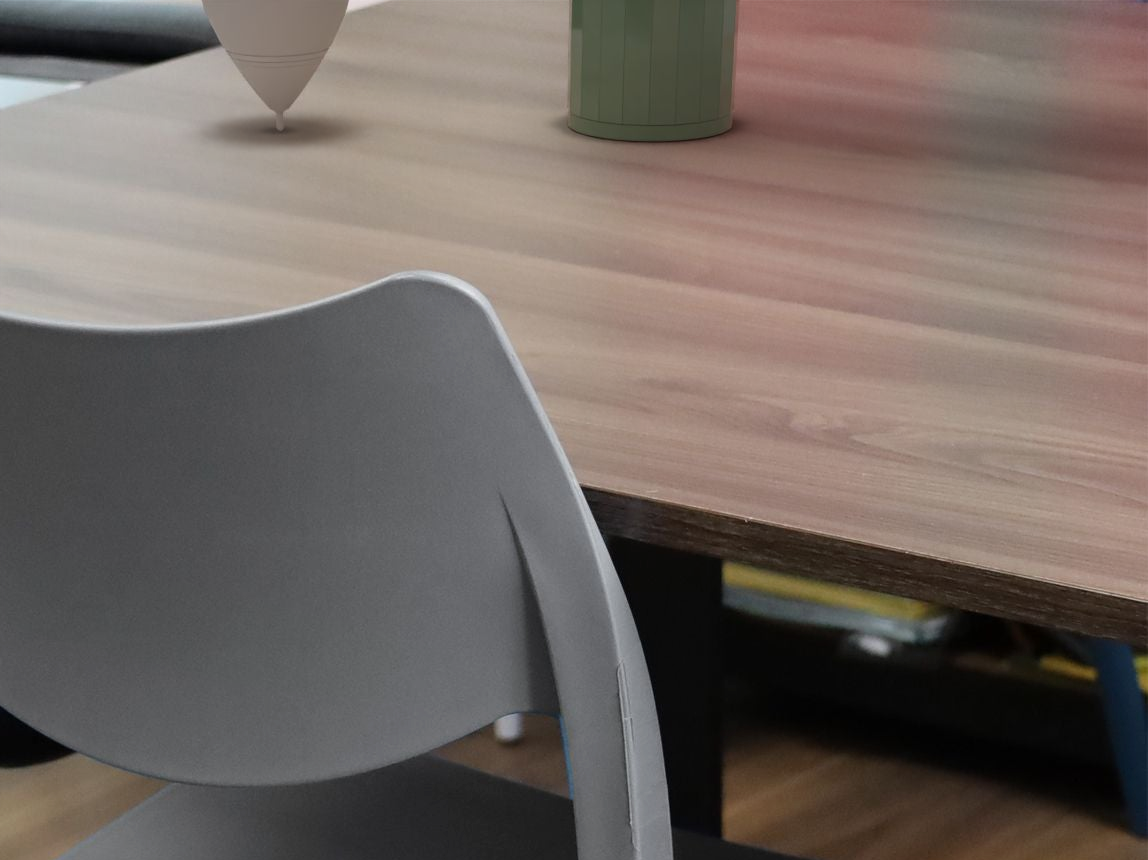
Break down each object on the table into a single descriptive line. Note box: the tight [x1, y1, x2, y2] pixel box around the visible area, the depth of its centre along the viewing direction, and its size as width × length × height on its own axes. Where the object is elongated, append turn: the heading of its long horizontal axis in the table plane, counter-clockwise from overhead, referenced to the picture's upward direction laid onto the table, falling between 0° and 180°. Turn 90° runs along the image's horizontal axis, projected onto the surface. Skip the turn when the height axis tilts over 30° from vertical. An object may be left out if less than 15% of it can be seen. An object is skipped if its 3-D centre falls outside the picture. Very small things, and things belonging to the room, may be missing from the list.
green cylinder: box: [566, 0, 740, 142], centre depth 120 cm, size 9×9×11 cm
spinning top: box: [201, 0, 350, 132], centre depth 120 cm, size 8×8×12 cm
